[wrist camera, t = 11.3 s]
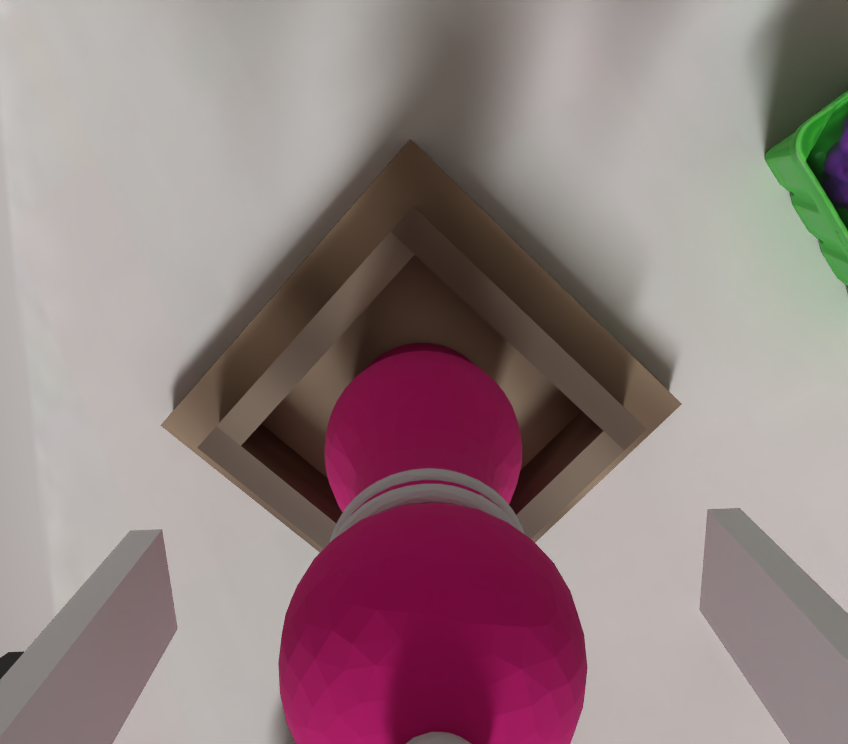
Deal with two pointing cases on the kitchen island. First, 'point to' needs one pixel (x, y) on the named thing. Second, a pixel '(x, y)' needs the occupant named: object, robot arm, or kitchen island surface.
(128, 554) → the robot arm
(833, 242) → the fruit basket
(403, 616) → the pepper mill
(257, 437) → the walnut stand
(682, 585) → the kitchen island surface
